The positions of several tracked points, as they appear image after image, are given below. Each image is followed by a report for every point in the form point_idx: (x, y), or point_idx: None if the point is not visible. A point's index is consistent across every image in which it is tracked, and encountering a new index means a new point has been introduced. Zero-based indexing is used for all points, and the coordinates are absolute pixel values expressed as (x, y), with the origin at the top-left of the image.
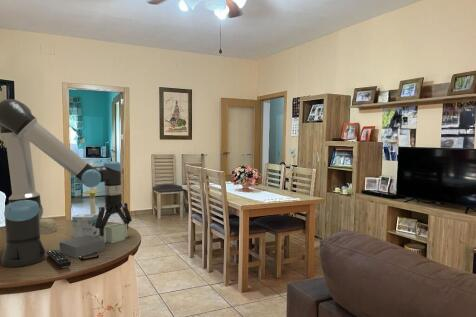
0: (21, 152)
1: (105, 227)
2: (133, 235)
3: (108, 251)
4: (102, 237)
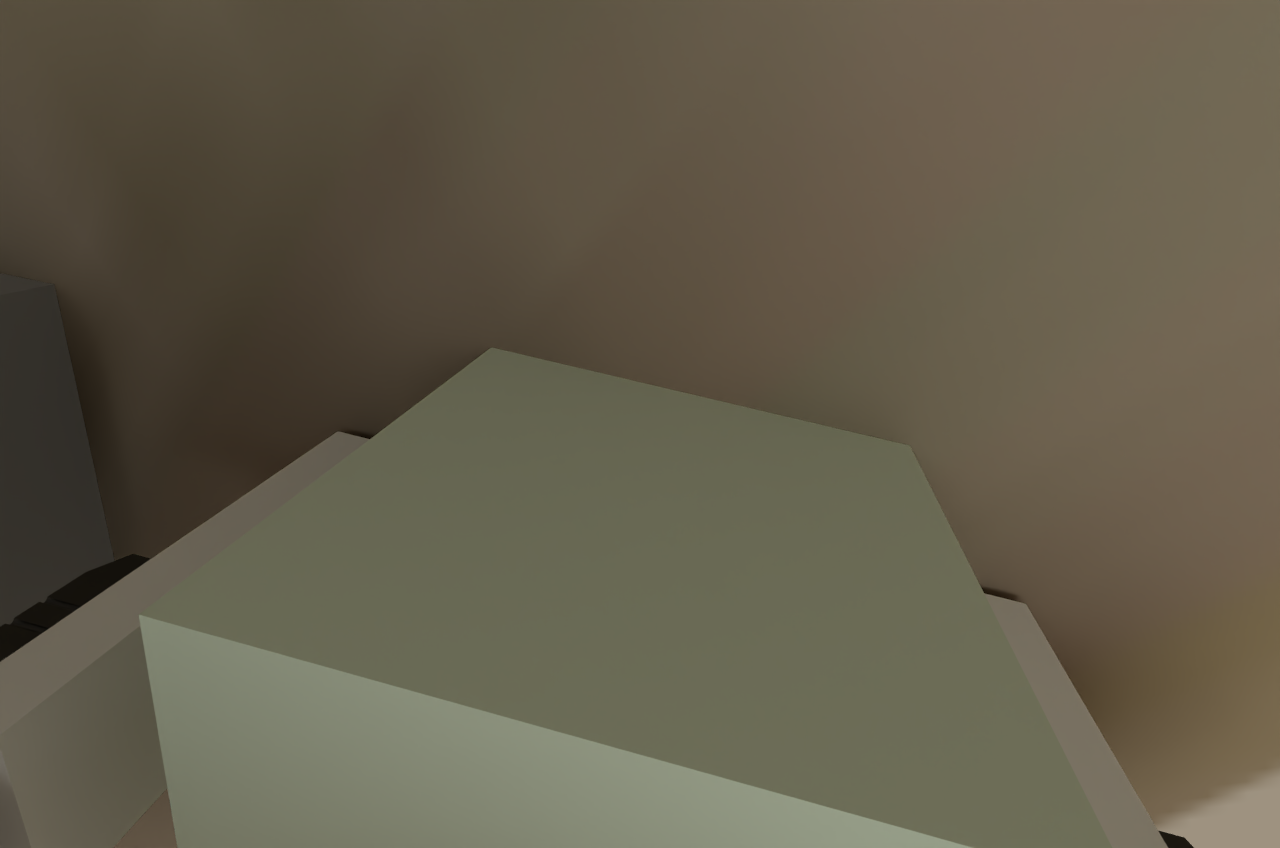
0: None
1: (200, 740)
2: (1199, 741)
3: (172, 841)
4: None
